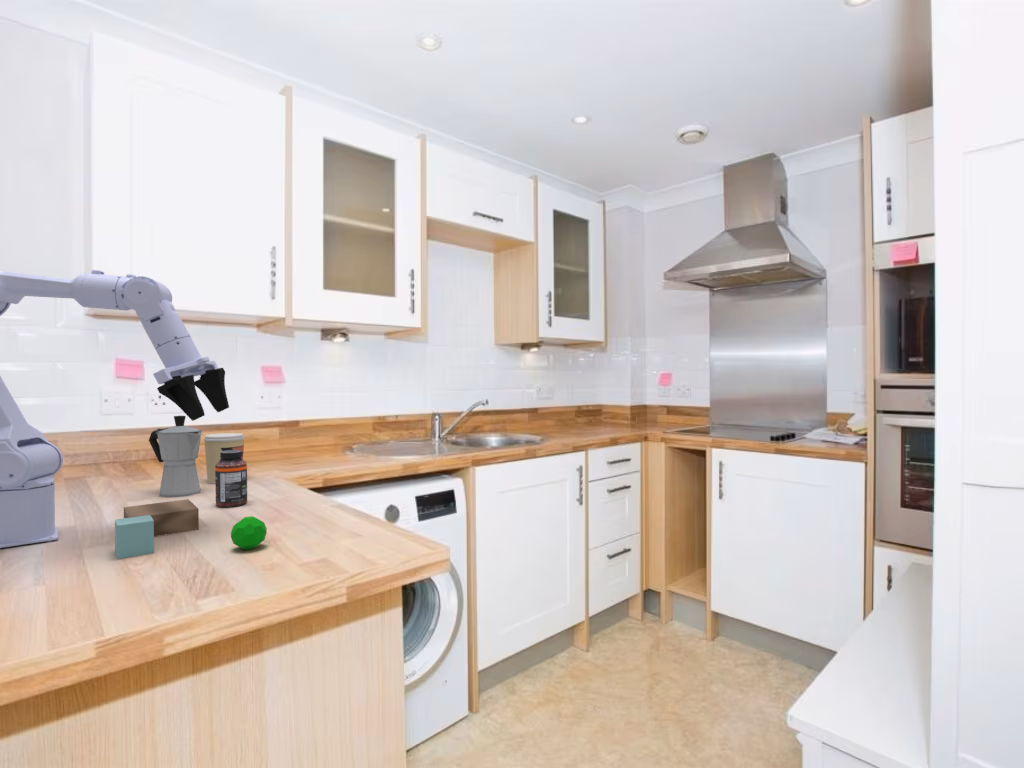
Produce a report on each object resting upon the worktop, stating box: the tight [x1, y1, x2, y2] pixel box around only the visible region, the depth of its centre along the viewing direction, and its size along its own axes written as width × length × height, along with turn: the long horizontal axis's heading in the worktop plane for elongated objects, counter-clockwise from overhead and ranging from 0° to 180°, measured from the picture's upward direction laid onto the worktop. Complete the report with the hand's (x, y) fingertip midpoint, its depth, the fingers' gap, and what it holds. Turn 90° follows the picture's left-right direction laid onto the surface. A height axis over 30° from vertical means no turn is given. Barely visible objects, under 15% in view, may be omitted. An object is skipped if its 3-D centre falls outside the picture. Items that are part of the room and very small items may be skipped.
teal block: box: [114, 515, 155, 560], centre depth 83 cm, size 4×4×5 cm
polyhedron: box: [230, 515, 267, 551], centre depth 85 cm, size 5×5×5 cm
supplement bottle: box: [215, 450, 248, 508], centre depth 114 cm, size 6×6×11 cm
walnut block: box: [123, 498, 200, 537], centre depth 96 cm, size 10×10×4 cm
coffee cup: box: [203, 432, 246, 485], centre depth 141 cm, size 9×9×12 cm
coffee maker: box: [148, 415, 203, 498], centre depth 126 cm, size 15×9×18 cm, turn 74°
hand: (211, 413), depth 96 cm, fingers open, 7 cm apart
